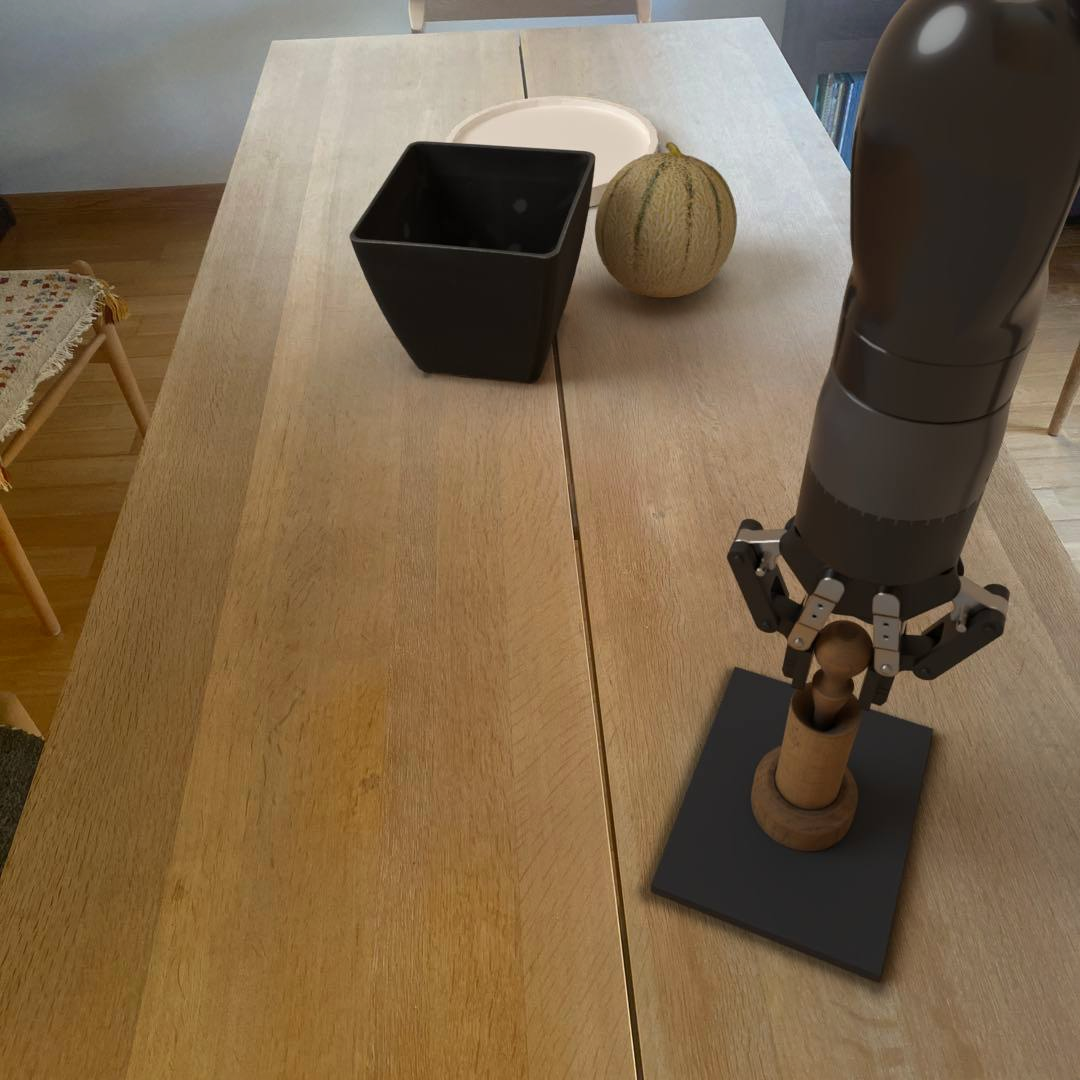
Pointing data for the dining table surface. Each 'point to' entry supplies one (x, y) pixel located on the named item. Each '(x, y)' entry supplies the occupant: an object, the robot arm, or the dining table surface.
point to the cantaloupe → (665, 224)
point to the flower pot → (476, 253)
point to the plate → (565, 131)
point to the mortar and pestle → (816, 749)
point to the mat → (784, 873)
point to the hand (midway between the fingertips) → (833, 686)
